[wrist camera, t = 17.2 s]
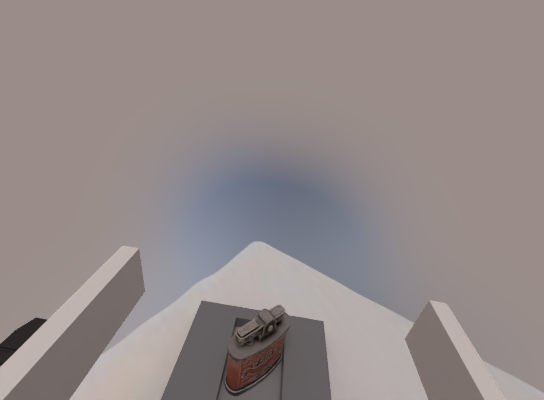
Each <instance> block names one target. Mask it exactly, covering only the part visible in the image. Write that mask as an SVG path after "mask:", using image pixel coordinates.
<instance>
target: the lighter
mask: <svg viewBox="0 0 544 400" xmlns="http://www.w3.org/2000/svg"><path fill="white" fill-rule="evenodd" d="M290 324H291V320H290V317H289V316H288V314H287V313H285V309H284V308H283V307H282V306H281V305H277V306H275V307H273V308H272V309H270V310H267V309H263V310H262V311H260V312H259V313H258V315H257V316H256V318H255V319H253V320H252V321H250V322H249V323H247V324H245V325H244V326H242V327H240V328H239V329H237V330H236V333H235V334H234V335H233V336H232V337H231V338H230V339H229V341H228V347H227V351H228V366H227V373H226V376H225V382H224V383H225V389H226V391H227V392H228V394H230V395H231V396H239V395H241V394H243V393H245V392H247V391H249V390H251V389H252V388H254V387H255V386H257V385H258V384H259V383H261V382H262V381H263V380H264V379H266V378H267V377H268V376H269V375H270V374H271V373H272V372H273V371H274V369H275V368H276V367H277V366H278V365H279V363H280V361H281V358H282V348H283V345H284V341H285V337H286V333H287V331H288V330H289V328H290Z"/></svg>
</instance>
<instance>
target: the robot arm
mask: <svg viewBox="0 0 544 400" xmlns="http://www.w3.org/2000/svg"><path fill="white" fill-rule="evenodd" d="M144 292H145V288H144V281H143V274H142V266H141V260H140V252H139V248H133V247H128V246H122V247H121V248H120V249H119V250H118V251H117V252H116V253H115V254H114V255H113V256H112V257H111V258H110V259H109V260H108V261H107V262H106V263H105V264H104V265H102V267H101V268H99V269H98V270H97V272H96V273H94V274H93V275H92V276H91V277H90V278H89V279H88V280H87V281H86V282H85V283H84V284H83V285H82V287H80V288H79V290H77V291H76V292H75V293H74V294H73V296H71V297H70V298H69V299H68V300H67V301H66V302H65V303H64V304H63V305H62V306H61V307H60V308H59V309H58V310H57V311H56V312H55V313H54V314H53V315H52V316H51V317H50V318H49V319H48V320H45V319H40V318H35V319H33V320H31V321H30V322H28V323H27V324H25V325H23V326H22V327H20V328H18V329H17V330H15V331H14V332H13V333H12V334H11V335H10V336H9V337H8V338H7V339H5V340H4V341H3V342H2V343H1V344H0V400H69V399H70V398H71V396H72V395H73V393H74V392H75V391H76V389H77V388H78V386H79V385H80V383H81V382H82V381H83V379H84V378H85V376H86V375H87V373H88V372H89V371H90V369H91V368H92V366H93V365H94V363H95V362H96V361H97V359H98V358H99V356H100V355H101V353H102V352H103V351H104V349H105V348H106V346H107V345H108V343H109V342H110V340H111V339H112V338H113V336H114V335H115V333H116V332H117V330H118V329H119V328H120V326H121V325H122V323H123V322H124V321H125V319H126V318H127V316H128V315H129V313H130V312H131V311H132V309H133V308H134V306H135V305H136V303H137V302H138V300H139V299H140V297H141V296H142V295H143V293H144ZM405 340H406V343H407V345H408V348H409V350H410V353H411V355H412V358H413V361H414V363H415V366H416V368H417V371H418V374H419V376H420V379H421V381H422V384H423V387H424V389H425V392H426V394H427V397H428V399H429V400H506V398H505V396H504V395H503V393H502V392H501V390H500V388H499V387H498V385H497V384H496V382H495V380H494V379H493V377H492V376H491V374H490V372H489V371H488V369H487V368H486V366H485V364H484V363H483V361H482V359H481V358H480V356H479V355H478V353H477V351H476V350H475V348H474V347H473V345H472V343H471V342H470V340H469V339H468V337H467V335H466V334H465V332H464V331H463V329H462V327H461V326H460V324H459V322H458V321H457V319H456V318H455V316H454V314H453V313H452V311H451V310H450V308H449V306H448V305H447V303H442V302H436V301H430V300H429V301H428V303H427V304H426V306H425V308H424V309H423V311H422V312H421V314H420V316H419V317H418V319H417V320H416V322H415V324H414V325H413V327H412V328H411V330H410V332H409V333H408V335H407V336H406V338H405Z"/></svg>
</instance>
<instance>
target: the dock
mask: <svg viewBox="0 0 544 400" xmlns="http://www.w3.org/2000/svg"><path fill="white" fill-rule="evenodd" d="M259 312H260V310H254V309H248V308H242V307H236V306H230V305H224V304H218V303H212V302H207V301H201V304H200V306H199V309H198V311H197V314H196V316H195V318H194V321H193V323H192V326H191V328H190V331H189V333H188V335H187V338H186V340H185V343H184V345H183V348H182V350H181V352H180V355H179V357H178V360H177V362H176V364H175V367H174V369H173V372H172V374H171V377H170V379H169V381H168V384H167V386H166V389H165V391H164V394H163V396H162V398H161V400H331V392H330V382H329V372H328V362H327V353H326V343H325V333H324V323H323V321H318V320H313V319H307V318H301V317H295V316H289V315H288V316H289V317H290V320H291V324H290V328H289V330H288V331H287V333H286V337H285V341H284V345H283V348H282V358H281V361H280V363H279V365H278V366H277V367H276V368H275V369H274V371H273V372H272V373H271V374H270V375H269V376H268V377H267V378H266V379H264V380H263V381H262V382H261V383H259V384H258V385H257V386H255V387H254V388H252V389H251V390H249V391H247V392H245V393H243V394H241V395H239V396H231V395H230V394H228V392H227V391H226V389H225V383H224V382H225V376H226V373H227V366H228V351H227V347H228V341H229V339H230V338H231V337H232V336H233V335H234V334H235V333H236V330H237V329H239V328H240V327H242V326H244V325H245V324H247V323H249V322H250V321H252V320H253V319H255V318H256V316H257V315H258V313H259Z"/></svg>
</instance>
